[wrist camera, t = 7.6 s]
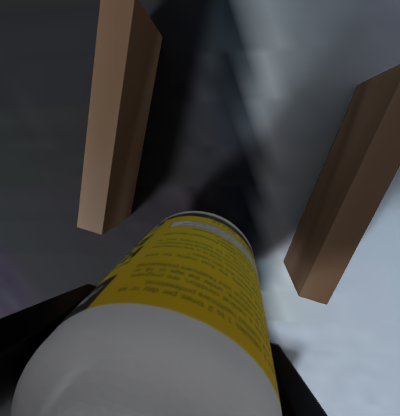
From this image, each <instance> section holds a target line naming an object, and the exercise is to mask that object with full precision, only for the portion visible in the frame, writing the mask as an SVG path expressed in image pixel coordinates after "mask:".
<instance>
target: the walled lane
mask: <svg viewBox="0 0 400 416" xmlns="http://www.w3.org/2000/svg"><path fill="white" fill-rule="evenodd" d="M161 42H162V35H161V34H160V32H159V31H158V29H157V28H156V26H155V25H154V23H153V21H152V20H151V18H150V17H149V15H148V14H147V12H146V11H145V9H144V7H143V6H142V4H141V3H140V1H139V0H100V10H99V20H98V30H97V39H96V49H95V59H94V68H93V78H92V88H91V97H90V107H89V117H88V127H87V136H86V146H85V156H84V165H83V175H82V185H81V195H80V204H79V214H78V224H77V227H79V228H82V229H85V230H88V231H92V232H95V233H98V234H101V235H102V234H103V233H105V232H106V231H108V230H109V229H111V228H112V227H114V226H115V225H117V224H118V223H120V222H121V221H123V220H124V219H126V218H127V217H129V216H130V215H131V211H132V206H133V200H134V194H135V189H136V183H137V178H138V172H139V166H140V161H141V155H142V149H143V144H144V138H145V132H146V127H147V121H148V116H149V110H150V104H151V99H152V93H153V87H154V82H155V76H156V71H157V65H158V59H159V54H160V48H161ZM399 166H400V65H398V66H396V67H394V68H392V69H389V70H387V71H385V72H383V73H381V74H379V75H377V76H375V77H373V78H371V79H369V80H367V81H365V82H363V83H361V84H359V85H358V86H357V89H356V91H355V93H354V96H353V98H352V100H351V103H350V105H349V108H348V110H347V112H346V115H345V117H344V119H343V122H342V124H341V126H340V129H339V131H338V134H337V136H336V138H335V141H334V143H333V145H332V148H331V150H330V153H329V155H328V157H327V160H326V162H325V164H324V167H323V169H322V171H321V174H320V176H319V179H318V181H317V183H316V186H315V188H314V190H313V193H312V195H311V197H310V200H309V202H308V205H307V207H306V209H305V212H304V214H303V216H302V219H301V221H300V223H299V226H298V228H297V231H296V233H295V235H294V238H293V240H292V242H291V245H290V247H289V250H288V252H287V254H286V257H285V259H284V264H285V266H286V268H287V270H288V273H289V275H290V277H291V280H292V282H293V284H294V286H295V289H296V291H297V293H298V295H299V296H300V297H304V298H307V299H310V300H313V301H316V302H320V303H323V304H326V305H327V303H328V302H329V300H330V298H331V296H332V294H333V292H334V290H335V288H336V286H337V284H338V282H339V281H340V279H341V277H342V275H343V273H344V271H345V269H346V267H347V265H348V263H349V261H350V260H351V258H352V256H353V254H354V252H355V250H356V248H357V246H358V244H359V242H360V240H361V238H362V237H363V235H364V233H365V231H366V229H367V227H368V225H369V223H370V221H371V219H372V217H373V216H374V214H375V212H376V210H377V208H378V206H379V204H380V202H381V200H382V198H383V196H384V195H385V193H386V191H387V189H388V187H389V185H390V183H391V181H392V179H393V177H394V175H395V173H396V172H397V170H398V168H399Z"/></svg>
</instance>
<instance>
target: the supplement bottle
mask: <svg viewBox="0 0 400 416" xmlns="http://www.w3.org/2000/svg"><path fill="white" fill-rule="evenodd" d="M11 416H282V410H281V404H280V398H279V392H278V386H277V380H276V375H275V369H274V363H273V358H272V352H271V347H270V341H269V335H268V329H267V324H266V318H265V312H264V306H263V300H262V295H261V290H260V283H259V277H258V272H257V267H256V262H255V258H254V254H253V251H252V248H251V246H250V244H249V242H248V240H247V238H246V237H245V236H244V234H243V233H242V232H241V231H240V230H239V229H238V228H237V227H236V226H235V225H234V224H232V223H231V222H230V221H228V220H226V219H225V218H223V217H221V216H218V215H216V214H212V213H208V212H202V211H187V212H181V213H177V214H174V215H172V216H170V217H168V218H166V219H164V220H163V221H162V222H160V223H159V224H158V225H157V226H155V227H154V228H153V229H152V230H151V231H150V232H149V233H148V234H147V235H146V236H145V237H144V238H143V239H142V240H141V241H140V242H139V243H138V244H137V246H136V247H135V248H134V249H133V250H132V251H131V252H130V253H129V254H128V255H127V256H126V257H125V258H124V259H123V260H122V261H121V262H120V263H119V264H118V265H117V266H116V267H115V268H114V269H113V270H112V271H111V272H110V273H109V274H108V275H107V277H106V278H105V279H104V280H103V281H102V282H101V283H100V284H99V285H98V286H97V287H96V288H95V289H94V290H93V291H92V292H91V293H90V294H89V295H88V296H87V297H86V298H85V299H84V300H83V301H82V302H81V303H80V304H79V305H78V306H77V307H76V308H75V309H74V310H73V311H72V312H71V313H70V314H68V315H67V316H66V317H65V319H64V320H63V321H62V322H61V324H60V325H59V326H58V327H57V328H56V329H55V330H54V331H53V332H52V333H51V334H50V336H49V337H48V338H47V339H46V340H45V341H44V342H43V343H42V344H41V346H40V347H39V348H38V349H37V350H36V352H35V353H34V354H33V356H32V357H31V359H30V360H29V362H28V363H27V365H26V367H25V368H24V370H23V372H22V374H21V376H20V379H19V381H18V383H17V386H16V390H15V393H14V396H13V401H12V406H11Z"/></svg>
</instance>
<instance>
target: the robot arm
mask: <svg viewBox="0 0 400 416" xmlns="http://www.w3.org/2000/svg"><path fill="white" fill-rule="evenodd" d="M96 287H97V286H94V285H91V284H87V285H84V286H81V287H79V288H76V289H74V290H71V291H69V292H66V293H64V294H61V295H59V296H56V297H54V298H51V299H49V300H46V301H44V302H41V303H39V304H36V305H33V306H31V307H28V308H26V309H23V310H21V311H18V312H16V313H13V314H11V315H8V316H6V317H3V318H1V319H0V416H11V406H12V401H13V396H14V393H15V390H16V386H17V383H18V381H19V379H20V376H21V374H22V372H23V370H24V368H25V367H26V365H27V363H28V362H29V360H30V359H31V357H32V356H33V354H34V353H35V352H36V350H37V349H38V348H39V347H40V346H41V344H42V343H43V342H44V341H45V340H46V339H47V338H48V337H49V336H50V334H51V333H52V332H53V331H54V330H55V329H56V328H57V327H58V326H59V325H60V324H61V322H62V321H63V320H64V319H65V317H66V316H67V315H68V314H70V313H71V312H72V311H73V310H74V309H75V308H76V307H77V306H78V305H79V304H80V303H81V302H82V301H83V300H84V299H85V298H86V297H87V296H88V295H89V294H90V293H91V292H92V291H93V290H94V289H95V288H96ZM270 347H271V352H272V358H273V363H274V369H275V375H276V380H277V386H278V392H279V398H280V404H281V410H282V416H327V414H326V413H325V411H324V410H323V408H322V407H321V405H320V404H319V402H318V401H317V400H316V398H315V397H314V395H313V394H312V392H311V391H310V389H309V388H308V387H307V385H306V384H305V382H304V381H303V379H302V378H301V376H300V375H299V373H298V372H297V371H296V369H295V368H294V366H293V365H292V363H291V362H290V360H289V359H288V357H287V356H286V355H285V353H284V352H283V350H282V349H281V347H280V346H279V345H278V344H275V343H272V342H270Z"/></svg>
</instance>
